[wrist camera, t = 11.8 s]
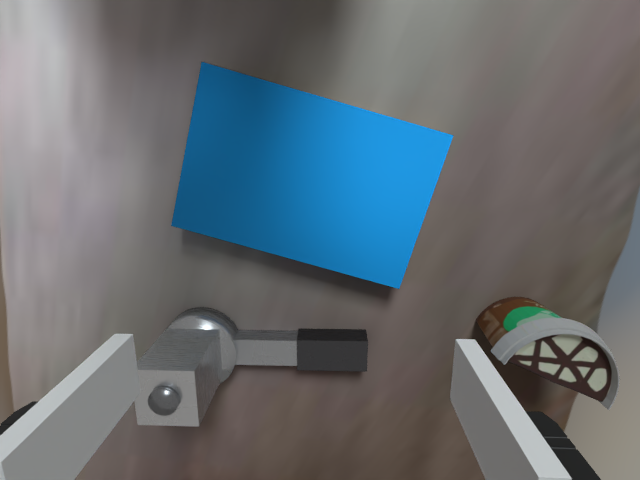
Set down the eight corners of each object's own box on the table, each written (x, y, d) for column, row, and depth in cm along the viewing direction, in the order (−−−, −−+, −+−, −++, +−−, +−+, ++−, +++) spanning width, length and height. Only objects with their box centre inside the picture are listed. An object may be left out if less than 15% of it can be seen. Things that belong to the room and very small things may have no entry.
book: (199, 61, 37) (455, 132, 37) (213, 69, 41) (443, 133, 42) (169, 232, 41) (399, 294, 42) (185, 224, 45) (394, 280, 46)
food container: (585, 312, 45) (653, 359, 36) (556, 355, 47) (613, 412, 37) (491, 270, 45) (534, 306, 35) (464, 315, 46) (498, 362, 36)
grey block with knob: (166, 328, 44) (127, 373, 36) (219, 329, 44) (191, 374, 36) (171, 375, 46) (134, 429, 37) (222, 376, 46) (197, 431, 37)
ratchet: (164, 306, 47) (136, 335, 40) (366, 309, 46) (371, 338, 39) (172, 373, 49) (146, 410, 43) (364, 377, 48) (369, 415, 42)
